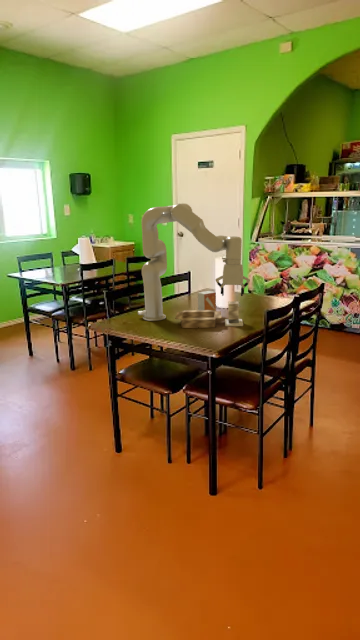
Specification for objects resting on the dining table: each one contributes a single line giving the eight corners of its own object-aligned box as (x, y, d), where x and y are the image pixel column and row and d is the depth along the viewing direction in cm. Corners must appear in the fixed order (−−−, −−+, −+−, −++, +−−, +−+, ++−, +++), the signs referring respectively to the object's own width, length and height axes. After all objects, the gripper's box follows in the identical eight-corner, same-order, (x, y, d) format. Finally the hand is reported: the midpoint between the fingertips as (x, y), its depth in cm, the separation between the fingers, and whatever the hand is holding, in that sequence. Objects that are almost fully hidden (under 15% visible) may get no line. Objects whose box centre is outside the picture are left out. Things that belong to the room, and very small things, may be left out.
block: (228, 323, 222) (228, 304, 220) (228, 320, 228) (228, 301, 225) (238, 323, 222) (238, 304, 219) (238, 320, 228) (237, 301, 225)
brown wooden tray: (175, 329, 218) (174, 319, 217) (178, 319, 237) (177, 310, 235) (221, 328, 216) (221, 319, 215) (220, 318, 235) (220, 309, 234)
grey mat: (225, 326, 221) (225, 324, 220) (224, 321, 230) (224, 319, 230) (243, 326, 220) (243, 324, 220) (241, 320, 230) (241, 318, 229)
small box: (204, 317, 239) (204, 294, 236) (197, 315, 244) (197, 292, 241) (216, 315, 243) (216, 292, 240) (209, 312, 248) (209, 290, 245)
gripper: (215, 262, 214) (215, 296, 219) (251, 263, 213) (250, 297, 217) (215, 260, 221) (215, 293, 226) (250, 260, 220) (248, 294, 225)
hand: (232, 295), depth 222 cm, fingers open, 9 cm apart
